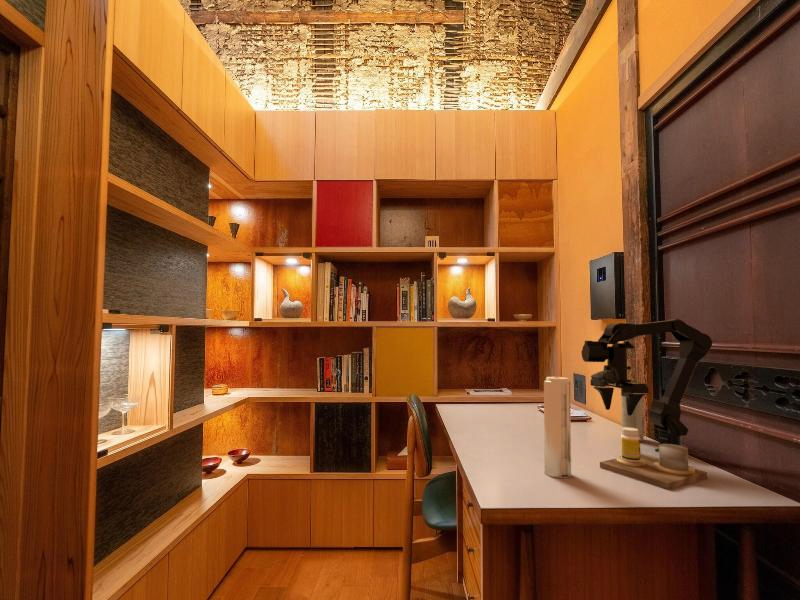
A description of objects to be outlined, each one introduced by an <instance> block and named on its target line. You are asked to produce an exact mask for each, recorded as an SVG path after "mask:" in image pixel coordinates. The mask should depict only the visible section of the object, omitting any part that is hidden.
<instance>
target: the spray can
mask: <svg viewBox="0 0 800 600" xmlns="http://www.w3.org/2000/svg"><path fill="white" fill-rule="evenodd" d="M631 382H639V383H642V382H641V381H635V380H631ZM620 391H621V392H620V396H621V397H620V400H621V401H620V403H621V405H620V406H621V407H620V408H621V429H622V428H623V427H630V428H636V429H638V433H639V434H638V435H637V436H638V437H639V438H640V442H643V441H644V438H645V437H644V435H645V432H644V431H645V430H644V404H643V403H644V398H643V396H642V398H641V399H640V401H639V402H638V404H637V406H636V408H635V410H634V411H633V413H632V415H630V416H629V415H628V414H627V405H626V397H625V396H624V395H623V393H628V392H624V390H623V389H622V388H620ZM622 434H623V433H622V432H621V435H622Z"/></svg>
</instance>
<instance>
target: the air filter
mask: <svg viewBox="0 0 800 600" xmlns="http://www.w3.org/2000/svg"><path fill="white" fill-rule="evenodd" d="M543 410H544V411H543V415H544V416H543V418H544V419H543V427H544V428H543V429H544V431H543V432H544V433H543V435H544V438H543V439H544V441H543V442H544V443H543V445H544V448H543V449H544V452H543V453H544V460H543V462H544V474H545V475H547V476H548V477H552V478H556V479H568V478H571V477H572V451H571V450H572V435H571V434H572V433H571V431H572V429H571V427H572V426H571V422H572V421H571V416H572V415H571V381H570V378H569V377H565V376H564V377H563V376H562V377H561V376H546V378H545V379H544V380H543Z"/></svg>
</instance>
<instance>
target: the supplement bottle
mask: <svg viewBox="0 0 800 600" xmlns="http://www.w3.org/2000/svg"><path fill="white" fill-rule="evenodd" d="M622 433H623V434H622ZM638 434H639V433H638V429H636V428H630V427H623V428H622V427H621V435H620V456H621V459H623V460H625V461H628V462H640V460H641V457H640V454H641V441H640V438H639V437H638V436H637V435H638Z"/></svg>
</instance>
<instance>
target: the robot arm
mask: <svg viewBox="0 0 800 600" xmlns="http://www.w3.org/2000/svg"><path fill="white" fill-rule="evenodd" d="M665 333H670V334H671V336H672V337H673V339H674V340H676V341H677V342H679V345H678V352H679V359H678V361H677V363H676V365H675V367H674V370H673V372H672V374H671V376H670V379H669V381H668V384H667V386H666V388H665V391H664V394H663V396H661V398H660V399H659V400H657V399H652V401H651V404H650V407H649V408H648V409H647V411H648V418H649V421H650V422H651V424H653V425H652V426H653V427H654V429H655V430H658V431H659V444H674V445H679V446H683V445H682V436H685V437H686V436H687V434H688V432H689V428H688V427H687V425H685V424H684V423H683V422H682V421H681V417H682V410H681V401H682V400H683V397H684V395H685V393H686V391H687V388H688V386H689V383H690V382H691V379H692V377H693V374H694V371H695V369H696V367H697V364H698V363H699V362H700V361H701V360H703V358H705V357H706V356H707V355H708V353H709V351H710V350H711V348H712V346H713V341H712V338H711V337H710V336H709V335H708V334H707V333H703V332H701V331H700V330H698V329H697V328H695V327H693V326H691V325H689V324H687V323H686V322H685V321H684V320H682V319H679V318H676V319H673V318H671V319H667V320H661V321H653V322H644V323H625V322H621V323H620V322H618V323H613V322H611V323H608V324H607V325H606V326H605V327H604V329H603V333H602V335H601V336H600V337H599V338H598V340H597V341H593V340H584V344H583V346H582V348H581V349H582V350H581V358H582V361H583V362H585V363H605V361H606V360H607V363H606V365H605V364H604V366H603V370H601V371H598V372H595V373H594V374H591V375H590V386H591V387H593V389H595V390H596V391H597V392H598V393H599V394H600V396H601V399H602V402H603V404H604V405H603V406H604V408H605V410H608V411H609V410H610V409H611V405H612V401H613V395H614V390H615V388H618V389H621V388H622V389H623V390H624V392H628V393H623V395H624V396H625V397H626V405H627V414H628V415H629V416H630V415H632V413H633V411H634V410H635V408H636V406H637V404H638V402H639V401H640V399H641V398H642V396H646V394H649V390H650V389H649V386H648V385H647V383H645V382H641V383H639V382H640V381H637V382H631V381H632V379H629V375H628V374H629V371H631V369H632V367H631V366H630V365H628V363H629V362H628V349H633V350H634V349H635V348H636V347H635V345H633V344H632V343H631V342H630V341H629V340H633V339H635V338H637V337H640V336H647V335H655V334H665ZM654 450H655V452H659V447H658V448H654Z"/></svg>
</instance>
